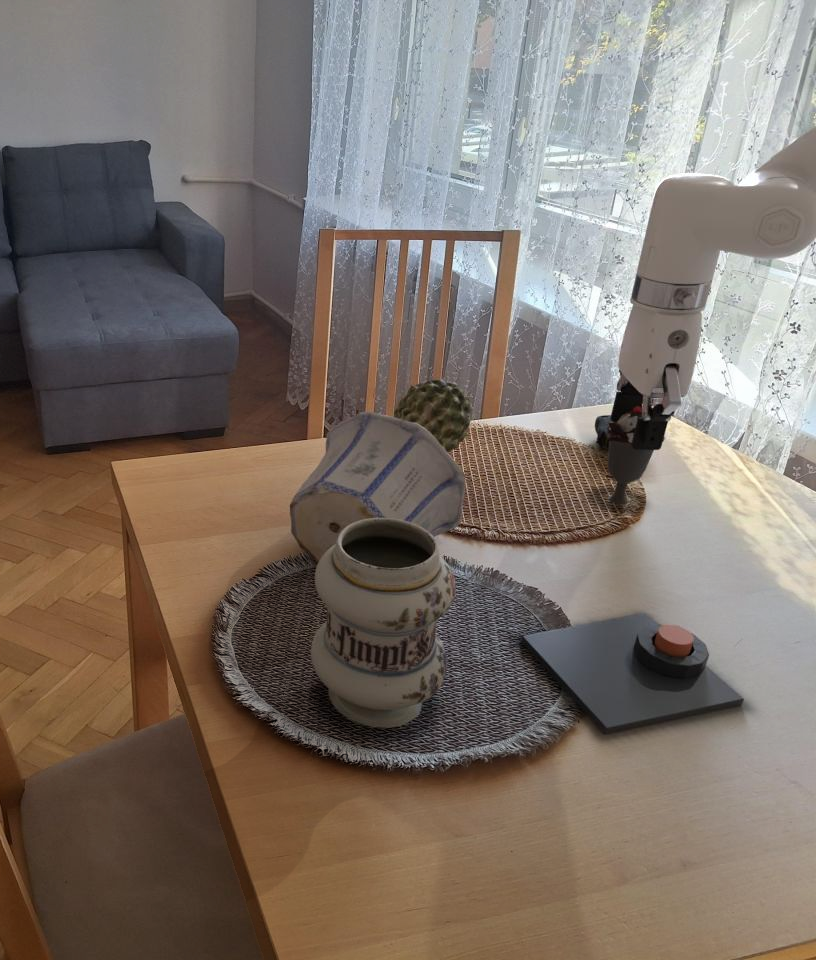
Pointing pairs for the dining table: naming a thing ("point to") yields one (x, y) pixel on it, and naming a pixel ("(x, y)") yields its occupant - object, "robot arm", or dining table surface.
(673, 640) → the button
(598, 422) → the tape measure
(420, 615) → the apothecary jar
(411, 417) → the potted plant
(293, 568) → the dining table surface
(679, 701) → the scale
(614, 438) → the sundae
